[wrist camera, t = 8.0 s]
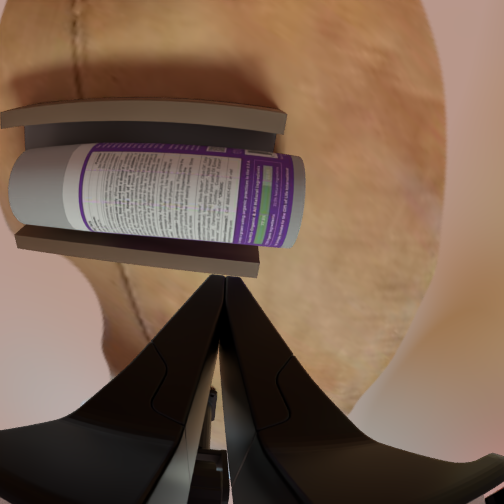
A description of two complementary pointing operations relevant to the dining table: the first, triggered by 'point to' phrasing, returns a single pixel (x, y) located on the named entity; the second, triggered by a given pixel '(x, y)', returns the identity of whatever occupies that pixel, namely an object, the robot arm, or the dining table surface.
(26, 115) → the cradle
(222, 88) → the dining table surface
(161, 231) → the container
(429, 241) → the dining table surface
